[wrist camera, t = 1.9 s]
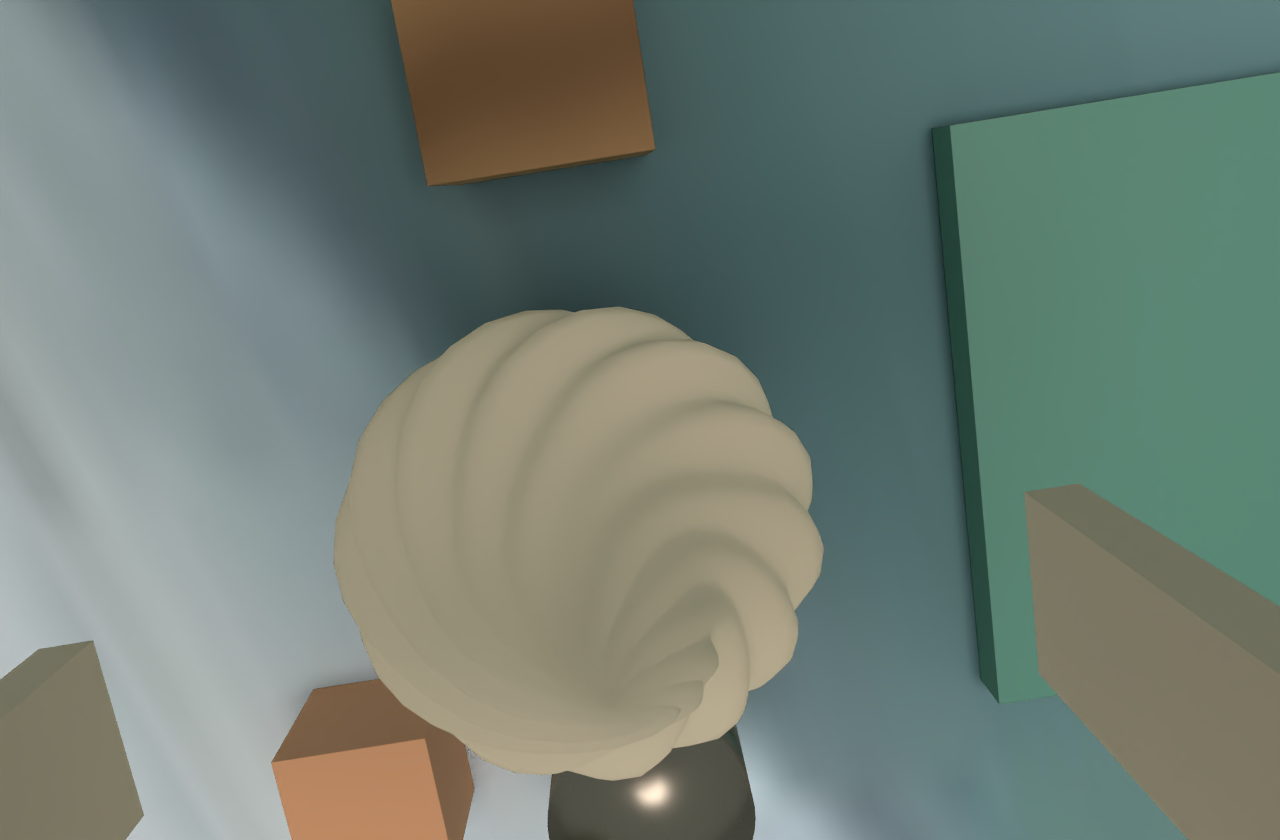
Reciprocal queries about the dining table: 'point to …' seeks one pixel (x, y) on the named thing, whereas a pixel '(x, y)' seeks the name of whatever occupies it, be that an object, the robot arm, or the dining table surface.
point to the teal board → (1115, 333)
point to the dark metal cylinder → (660, 799)
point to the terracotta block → (371, 770)
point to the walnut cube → (522, 85)
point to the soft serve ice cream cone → (578, 541)
